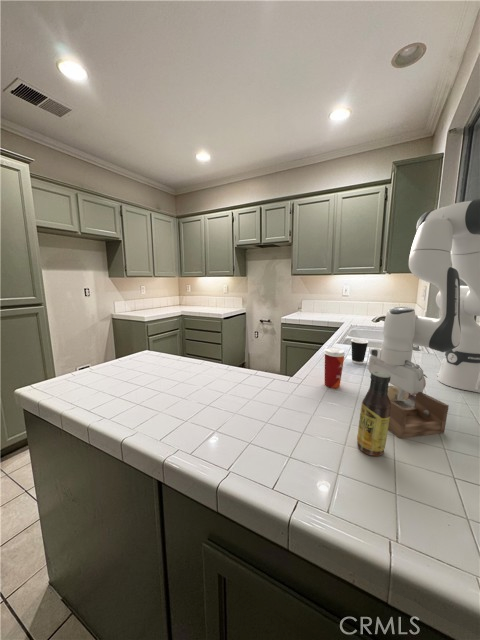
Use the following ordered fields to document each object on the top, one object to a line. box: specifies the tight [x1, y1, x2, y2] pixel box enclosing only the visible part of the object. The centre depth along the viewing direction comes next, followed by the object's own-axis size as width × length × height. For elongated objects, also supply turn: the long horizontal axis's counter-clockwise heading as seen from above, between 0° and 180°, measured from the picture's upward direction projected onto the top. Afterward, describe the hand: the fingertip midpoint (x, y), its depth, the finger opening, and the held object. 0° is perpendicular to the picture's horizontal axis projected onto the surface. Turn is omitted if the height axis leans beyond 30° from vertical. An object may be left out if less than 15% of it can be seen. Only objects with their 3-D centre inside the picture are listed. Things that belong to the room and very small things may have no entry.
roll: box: [387, 385, 410, 402], centre depth 90 cm, size 9×5×5 cm, turn 102°
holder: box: [388, 392, 449, 440], centre depth 75 cm, size 14×9×8 cm, turn 102°
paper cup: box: [323, 347, 346, 389], centre depth 102 cm, size 8×8×14 cm
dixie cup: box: [350, 338, 369, 365], centre depth 130 cm, size 8×8×11 cm
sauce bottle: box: [356, 371, 391, 457], centre depth 63 cm, size 7×6×20 cm
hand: (391, 395), depth 90 cm, fingers closed on roll, 5 cm apart
